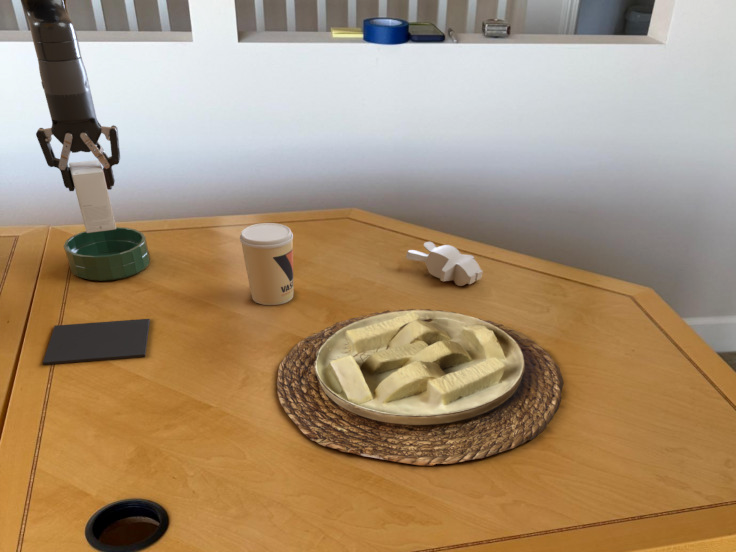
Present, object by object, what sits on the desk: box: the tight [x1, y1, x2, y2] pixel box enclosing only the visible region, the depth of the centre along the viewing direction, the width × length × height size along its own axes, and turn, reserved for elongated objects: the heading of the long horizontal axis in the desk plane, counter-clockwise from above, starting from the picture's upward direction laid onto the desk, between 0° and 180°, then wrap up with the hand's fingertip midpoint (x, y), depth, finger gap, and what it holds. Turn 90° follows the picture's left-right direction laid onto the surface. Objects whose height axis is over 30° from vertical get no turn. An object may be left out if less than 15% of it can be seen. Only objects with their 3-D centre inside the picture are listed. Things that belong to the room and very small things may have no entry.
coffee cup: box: [239, 222, 294, 306], centre depth 140 cm, size 9×9×12 cm
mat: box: [42, 318, 151, 366], centre depth 130 cm, size 16×13×1 cm
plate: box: [275, 308, 564, 467], centre depth 120 cm, size 45×45×7 cm
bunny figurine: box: [405, 241, 484, 287], centre depth 150 cm, size 10×5×15 cm
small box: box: [68, 159, 117, 233], centre depth 145 cm, size 8×6×10 cm
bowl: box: [63, 226, 151, 282], centre depth 152 cm, size 15×15×5 cm
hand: (90, 188), depth 144 cm, fingers closed on small box, 6 cm apart
